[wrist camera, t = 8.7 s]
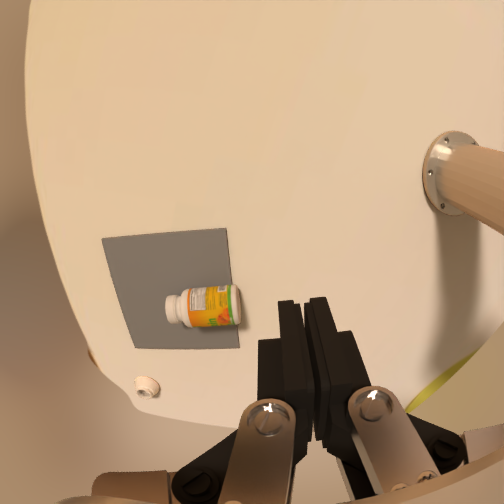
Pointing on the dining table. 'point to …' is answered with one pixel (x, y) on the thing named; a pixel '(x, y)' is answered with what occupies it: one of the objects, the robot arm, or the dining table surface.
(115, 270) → the felt mat
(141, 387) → the lidless jar
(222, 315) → the supplement bottle
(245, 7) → the dining table surface
